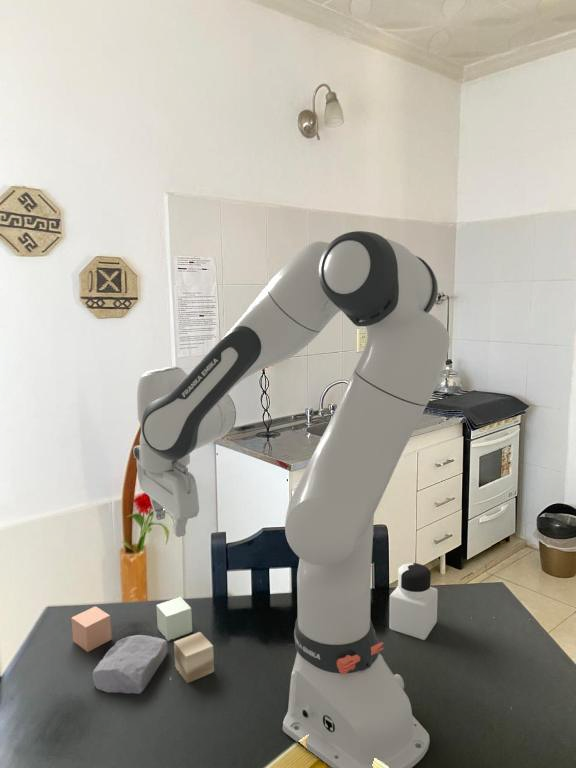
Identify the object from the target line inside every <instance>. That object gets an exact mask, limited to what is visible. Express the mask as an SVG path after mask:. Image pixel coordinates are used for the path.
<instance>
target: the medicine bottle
mask: <svg viewBox="0 0 576 768" xmlns="http://www.w3.org/2000/svg"><path fill="white" fill-rule="evenodd" d="M431 576H432V572H431V571H430V569H429V568H428V567H427V566H425V565H423V564H421V563H418V562H417V563H416V562H411V563H410V562H408V563H404V564H401V565H400V566H399V568H398V570H397V586H396V588H394V590H393V591H392V592H391V594H390V595H389V629H390V630H392V631H395V632H397V633H401V634H403V635H407V636H410V637H413V638H416V639H419V640H422V641H425V640H426V639H427V638H428V636H429V635H430V633H431V631H433V628H434V627H435V626H436V624H437V622H438V595H439V593H438V588H436V587H432V586H431V578H432V577H431Z"/></svg>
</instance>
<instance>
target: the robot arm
mask: <svg viewBox="0 0 576 768" xmlns="http://www.w3.org/2000/svg"><path fill="white" fill-rule="evenodd" d="M438 291H439V289H438V280H437V278H436V275H435V273H434V271H433V270H432V268H431V266H430V265H429V264H428V263H427V262H426V260H424V259H422V258H421V257H420V256H418V255H415V254H413V253H412V252H411V251H410V250H409V249H408V248H407V247H405V246H404V245H402V244H400V243H398V242H397V241H394V240H391V239H389V238H386V237H384V236H382V235H380V234H377V233H376V232H370V231H363V230H357V231H356V230H355V231H354V230H353V231H350V232H345V233H343V234H341V235H339V236H338V237H336V238H335V239H333V240H332V241H331V242H330V243H329V242H326V241H320V240H319V241H313V242H310V243H308V244H307V245H305V246H304V247H303V248H302V249H301V250H299V252H297V253H296V254H295V255H294V256H293V257H291V258H290V260H288V262H287V263H286V264H284V266H282V268H281V269H279V271H278V272H277V273H276V274H275V275H274V276H273V277H272V279H271V280H270V281H269V282H268V283H267V285H266V286H265V287H264V288H263V289H262V291H261V292H260V294H259V295H258V296H257V297H256V298H255V300H254V301H253V302H252V303H251V304H250V306H248V308H247V310H246V311H245V312H244V314H243V315H241V317H240V318H239V319H238V320H237V322H236V323H235V324H234V325H233V326H232V327H231V328H230V330H229V331H228V332H227V333H226V334H225V336H223V337H222V338H221V339H220V341H219V342H217V344H215V345H214V346H213V348H211V350H209V352H207V354H206V355H205V356H204V357H203V358H202V359H201V360H200V362H199V363H198V364H197V365H196V366H195V367H194V368H193V369H192V370H191V372H189V374H187V373H186V372H185V370H184V369H182V368H181V367H178V366H169V367H168V366H167V367H163V368H159V369H157V368H156V369H153V370H148V371H145V372H144V373H143V374H141V376H140V378H139V380H138V385H137V393H136V394H137V395H136V397H137V398H136V400H137V403H136V404H137V420H138V423H139V425H140V436H139V445H135V446H134V447H132V449H133V457H134V458H135V459H136V470H137V471H136V472H137V477H138V478H137V479H138V483H139V487H140V490H141V491H142V492H143V493H145V494H146V495H147V496H148V497H149V500H150V504H151V507H152V509H153V518H154V519H156V520H157V521H161V520H164V519H165V518H166V510H167V511H168V512H169V513H170V514H172V515H173V518H174V520H175V522H174V525H172V533H173V535H175V536H176V537H177V538H181V537H184V536H185V535H186V525H187V523H188V520H189V519H193V518H196V517H198V514H199V512H200V505H199V504H200V503H199V494H198V487H197V482H196V479H195V478H196V477H195V476H194V475H193V474H192V473H191V472H190V471H189V469H188V467H187V466H188V465H189V464H190V463H191V456H190V455H191V453H192V452H193V451H196V450H198V449H200V448H202V447H205V446H207V445H209V444H211V443H213V442H215V441H217V440H219V439H221V438H223V437H225V436H226V435H228V434H230V432H231V431H232V430H233V428H234V426H235V424H236V420H237V411H236V407H235V403H234V401H233V399H232V398H231V396H230V395H229V393H230V392H231V391H232V390H233V388H235V387H236V386H237V385H238V384H240V383H241V381H244V380H245V379H246V378H249V376H252V375H253V374H255V373H257V372H259V371H261V370H264V369H266V368H269V367H272V366H274V365H277V364H279V363H282V362H284V361H286V360H289V359H291V358H293V357H294V356H295V355H297V354H298V353H299V352H300V351H302V350H303V349H304V348H306V347H308V345H310V343H311V342H312V341H313V340H314V339H316V337H317V336H318V335H319V334H320V333H321V332H322V331H323V330H324V329H325V327H326V326H327V325H328V324H329V322H330V321H331V320H332V319H333V318H334V317H335V316H336V315H337V314H338V313H339V312H342V313H343V314H344V315H345V316H346V317H347V318H348V319H349V320H350V321H351V322H352V324H353V325H355V326H356V327H365V328H366V329H365V330H366V332H367V333H366V334H367V336H366V337H367V339H366V342H365V343H366V344H365V347H364V348H363V351H362V354H361V355H360V358H359V359H358V361H357V364H356V366H355V368H354V370H353V373H352V374H351V377H350V379H349V381H348V383H347V385H346V387H345V389H344V391H343V393H342V395H341V398H340V400H339V402H338V404H337V407H336V408H335V411H334V413H333V414H332V416H331V418H330V420H329V423H328V425H327V426H326V428H325V430H324V432H323V434H322V436H321V438H320V440H319V442H318V443H317V446H316V448H315V450H314V452H313V454H312V456H311V458H310V460H309V461H308V463H307V466H306V468H305V470H304V471H303V473H302V476H301V478H300V479H299V482H298V484H297V485H296V488H295V490H294V492H293V494H292V496H291V497H290V500H289V502H288V506H287V510H286V515H285V523H284V533H285V537H286V540H287V543H288V545H289V547H290V549H291V550H292V551H293V552H294V554H295V555H296V556H297V557H298V558H299V559H298V560H299V561H298V567H297V571H296V572H297V573H296V574H297V575H296V589H297V591H296V593H297V594H296V595H297V596H296V597H297V601H296V603H297V618H295V619H296V620H295V623H294V631H293V636H294V637H293V638H294V645H295V646H294V647H295V650H296V656H295V659H294V663H293V667H292V671H291V675H290V683H289V693H288V695H289V696H288V707H287V712H286V715H285V716H284V717H283V718H284V719H283V721H282V731H283V732H284V733H285V735H287V736H289V737H290V738H291V739H293V740H294V741H295V742H297V741H299V740H300V739H302V738H303V737H305V736H306V735H308V734H309V736H308V738H307V739H306V741H305V742H306V746H307V749H306V750H307V751H309V752H311V753H312V754H313V755H314V756H316V757H317V758H319V759H320V760H321V761H323V762H324V763H325V764H326V765H328V766H329V767H331V768H373V766H372V764H373V761H374V758H377V759H378V760H380V761H382V762H384V763H385V764H386V765H388V766H389V768H413V767H414V766H416V764H418V763H419V762H420V761H421V760H422V759H423V758H424V756H425V755H426V753H427V752H428V750H429V747H430V743H431V739H430V734H429V733H428V731H427V730H426V729H425V728H424V727H423V725H421V723H420V722H419V720H417V719H416V718H415V715H413V712H412V705H411V702H410V699H409V697H408V695H407V694H406V692H405V690H404V689H405V683H404V678H403V677H402V676H401V675H400V674H398V673H395V674H393V672H392V670H391V668H389V666H388V664H387V663H386V661H385V660H384V656H382V655H381V654H380V652H381V651H382V650H384V647H382V646H383V645H384V642H383V641H380V642H379V643H378V639H377V636H376V631H375V628H374V625H373V622H372V619H371V583H372V582H371V580H372V579H371V578H372V577H371V576H372V575H371V574H372V561H373V560H372V558H373V545H374V543H373V538H374V524H375V523H374V522H375V521H374V519H375V512H376V510H377V508H378V506H379V504H380V502H381V501H382V498H383V496H384V494H385V492H386V489H387V487H388V485H389V483H390V480H391V479H392V477H393V473H394V472H395V469H396V467H397V465H398V463H399V461H400V459H401V456H402V454H403V452H404V450H405V448H406V447H407V444H408V442H409V441H410V439H411V437H412V435H413V433H414V431H415V429H416V428H417V425H418V423H419V421H420V419H421V418H422V416H423V413H424V412H425V410H426V408H427V406H428V404H429V402H430V400H431V397H433V396H432V395H433V394H434V391H435V389H436V387H437V384H438V382H439V379H440V377H441V375H442V372H443V369H444V365H445V363H446V360H447V356H448V353H449V349H450V344H451V343H450V342H451V341H450V335H449V332H448V330H447V328H446V327H445V325H444V324H443V322H441V320H439V319H438V318H437V317H436V316H434V315H433V314H431V313H430V312H431V311H432V309H433V308H434V305H435V304H436V301H437V297H438V294H439V293H438Z"/></svg>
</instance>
